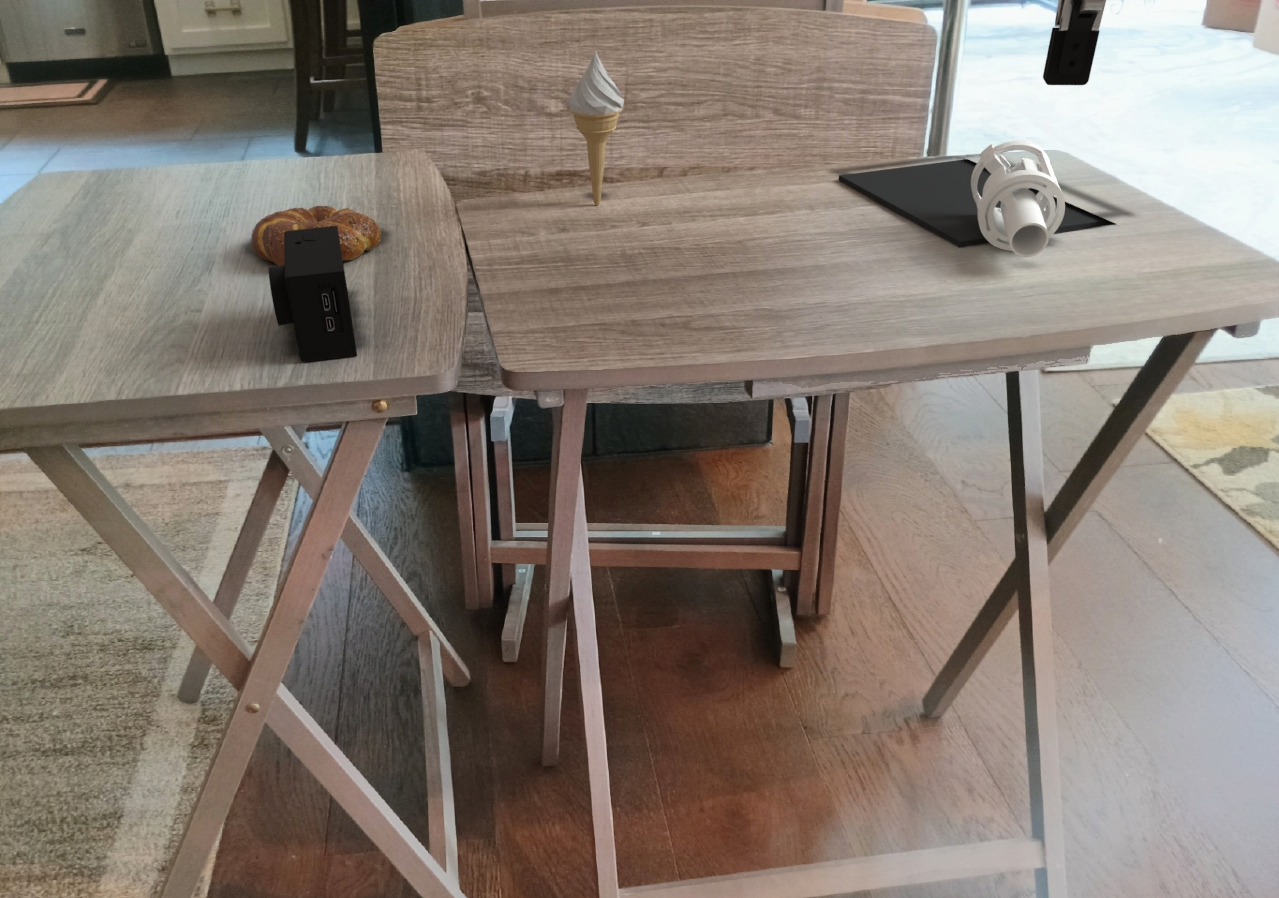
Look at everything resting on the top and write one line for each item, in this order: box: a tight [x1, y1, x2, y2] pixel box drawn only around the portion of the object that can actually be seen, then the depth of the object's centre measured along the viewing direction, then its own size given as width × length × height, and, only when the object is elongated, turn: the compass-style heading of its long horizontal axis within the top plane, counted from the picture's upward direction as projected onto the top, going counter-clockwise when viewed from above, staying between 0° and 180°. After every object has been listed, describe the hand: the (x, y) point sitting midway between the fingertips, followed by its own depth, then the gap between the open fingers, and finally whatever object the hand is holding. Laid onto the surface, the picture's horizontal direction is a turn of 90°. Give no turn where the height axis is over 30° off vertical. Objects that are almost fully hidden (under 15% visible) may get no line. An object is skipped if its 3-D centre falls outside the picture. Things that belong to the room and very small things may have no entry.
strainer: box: [971, 140, 1066, 258], centre depth 93 cm, size 7×7×15 cm
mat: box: [837, 158, 1117, 248], centre depth 105 cm, size 22×18×1 cm
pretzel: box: [250, 205, 382, 266], centre depth 97 cm, size 12×11×4 cm
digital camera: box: [268, 226, 358, 363], centre depth 81 cm, size 10×5×7 cm, turn 13°
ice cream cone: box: [567, 50, 625, 206], centre depth 103 cm, size 6×6×15 cm
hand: (1064, 82), depth 83 cm, fingers closed
